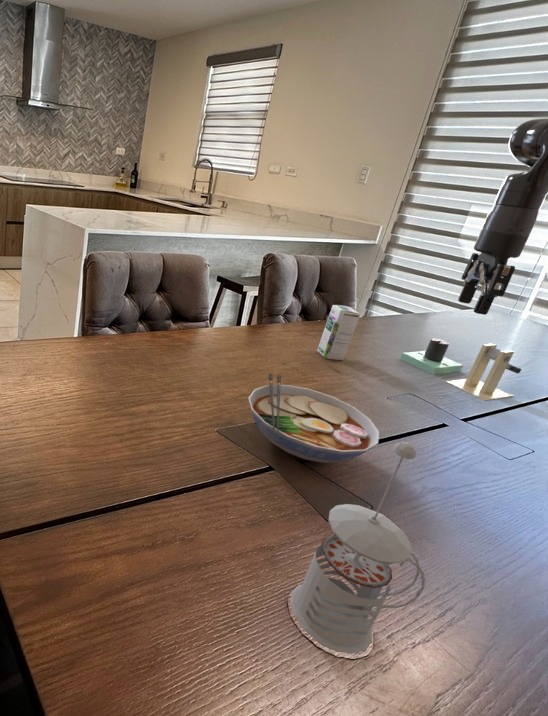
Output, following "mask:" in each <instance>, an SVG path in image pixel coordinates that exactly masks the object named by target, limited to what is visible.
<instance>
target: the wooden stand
mask: <svg viewBox="0 0 548 716" xmlns="http://www.w3.org/2000/svg"><path fill="white" fill-rule="evenodd" d="M497 346H498V345H497V344H494V343H487V344H485V343H484V344H482V346H481V347H480V350H479V351H478V354H477V356H476V358H475V360H474V362H473V363H472V366H471V369H470V371H469V373H468V375H467V377H466V378H461V379H453V380H445V381H444V382H445V383H446V384H449V385H450V386H453V387H455V388H457V389H459V390H461V391H462V392H463V391H464V392H465V393H467V394H470V395H472V396H474V397H476V398H478V399H480V400H481V401H485V402H486V401H493V400H497V399H498V400H499V399H503V398H511V397H513V396H514V395H513V394H510V393H508V392H506V391H503V390H501V389H499V388H497V387H498V385H499V383H500V381H501V379H502V377H503V375H504V373H505V371H506V370H507V369H506V367H507V365H508V363H509V364H510V361H511V360H512V357H513V355H514V353H515V351H513V350H510V349H508V350H501V351H500V352H499V354H498V356H497V358H496V360H494V362H493V364H492V366H491V368H490V370H489V372H488V373H487V376H486V378H485V380H484V382H483V381H481V380H482V377H483V375H484V373H485V371H486V369H487V367H488V365H489V363H490V361H491V359H490V358H489V357H488V356H487V355H486V354H487V353H488V351H489V350H490V349H491V347H493V348H496V349H497Z"/></svg>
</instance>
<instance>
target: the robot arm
mask: <svg viewBox="0 0 548 716" xmlns="http://www.w3.org/2000/svg"><path fill="white" fill-rule="evenodd" d="M508 149H509V152H510V154H511V156H512V157H513V158H514V159H515V160H516V161H518V162H519V163H521V164H523V165H525V166H527V167H529V169H528V170H526V171H522V172H516V173H511V174H509V175H507V176H506V177H505V179H504V180H503V182H502V184H501V186H500V189H499V191H498V193H497V196H496V198H495V200H494V203H493V204H492V207H491V208H490V209H489V212H488V213H487V215H486V218H485V220H484V222H483V225H482V227H481V229H480V231H479V234H478V236H477V239H476V241H475V243H474V245H473V250H474V251H475V252H472V254H471V256H470V258H469V260H468V262H467V265H466V267H465V268H464V271H463V272H462V273H463V274H462V275H461V280H462V281H463V286H462V290H461V292H460V294H459V296H458V299H457V301H458V302H459V303H462V304H471V303H472V301H473V299H474V296H475V294H476V292H477V289H478V287H479V285H480V286H481V293H480V295H479V297H478V299H477V302H476V303H475V306H474V308H473V313H475V314H477V315H478V314H479V315H488V313H489V311H490V309H491V307H492V304H493V302H494V300H495V298H498V297H500V298H501V297H503V296H504V295H505V293H506V290H507V289H508V286H509V284H510V281H511V279H512V277H513V275H514V271H515V270H516V266H515V265H509V264H508V262H509V259H516V258H519V257H520V256H521V254H522V253H523V250H524V248H525V247H526V244H527V242H528V239H529V238H530V235H531V233H532V231H533V228H534V227H535V225H536V222H537V219H538V216H539V212H540V209H541V207H542V206H543V203H544V201H545V199H546V197H547V195H548V118H535V119H529V120H527V121H525V122H522V123H521V124H520V125H517V127H516V128H515V129H514V130H513V131H512V133H511V134H510V137H509V140H508ZM477 252H478V253H477Z"/></svg>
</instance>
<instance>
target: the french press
mask: <svg viewBox="0 0 548 716" xmlns="http://www.w3.org/2000/svg"><path fill="white" fill-rule="evenodd" d="M392 450H393V451H392V452H394V454H395V455H396V456H398V457H400V458H399V461H398V463H397V465H396V466H395V469H394V472H393V474H392V476H391V478H390V481H389V483H388V486H387V487H386V490H385V492H384V494H383V497H382V498H381V501H380V502H379V505H378V508H377V509H376V511H375V510H372V509H370V508H368V507H365V506H361V505H359V504H349V503H344V504H338V505H337V504H336V505H335V506H333V508H331V509H330V510H329V514H328V523H329V525H330V528H331V530H332V532H333V534H330V535H327V536H326V537H325V538H324V539H322V541H321V542H322V543H321V544H320V545H319V546H317V548H316V550H315V552H314V554H313V556H312V559H311V562H310V565H309V567H308V569H307V572H306V575H305V577H304V579H303V582H302V583H301V584H302V585H300V584H297V585H298V586H297V587H296V588H295V589H294V590H292V589H291V590H292V592H291V599H290V605H291V608H292V610H293V613H294V615H295V618H297V620H298V622H299V624H300V625H301V626H302V628H303V629H304V631H306V632H307V633H308V634H309V635H311V637H313V639H314V640H315V641H317V642H318V643H320V644H321V645H322V646H324V647H327V648H329V649H330V650H331V649H332V650H334V651H336V652H344V653H345V652H346V653H349V654H350V653H351V654H353V653H354V654H355V653H359V652H361V651H364V652H365V651H366V650H367V648H368V647H369V645H370V644H371V643H372V630H373V626H374V624H375V622H376V620H377V618H378V616H379V614H380V613H381V611H382V609H398V608H403V607H407V606H408V605H410V604H412V603H414V602H415V601H416V600H418V598H419V597H420V596H421V594H422V592H423V590H424V589H425V587H426V577H425V573H424V571H423V570H422V569H421V567H420V563H419V561H420V560H419V559H418V557H416V555H415V554H414V552H412V545H411V541H410V540H409V538H408V537H407V536H406V534H405V532H404V531H403V530H402V529H401V528H400V527H399V526H397V525H396V523H394V522H393V521H391V520H390V519H389V518H388V517H387V516H385V515H384V514H383V513H381V512H380V510H381V508H382V506H383V504H384V502H385V500H386V497H387V495H388V493H389V491H390V488H391V486H392V484H393V482H394V480H395V477H396V475H397V473H398V471H399V468H400V466H401V464H402V462H403V460H404V459H405V460H414V459H415V457H417V456H416V455H417V451H416V448H415V446H414V445H413V444H411V443H409V442H408V441H401V442H397V443H396V444H394V445H393V449H392ZM410 555H411V557H412V558H413V559H414V560H412V558H409V557H410ZM321 556H324V557H323V558H320V559H317V558H319V557H321ZM406 561H407V562H410V563H411V564H412V565H414V567H416V574H415V575H414V578H413V579H412V581H411V582H410V583H409V584H408V585H407V586H406V587H404V588H403V589H402V590H399V591H395V592H390V591H391V586H390V585H391V584H390V582H391V581H392V580H393V571H392V568H391V566H390V565H393V564H398V566H400V567H403V565H404V564H405V562H406ZM324 562H325V564H321V563H324ZM326 562H327V563H326ZM320 564H321V565H320ZM328 568H332V569H329V570H324V569H328ZM327 575H334V576H338V577H341V578H342V579H344V580H345V581H346V582H348V583H349V584H350V585H351V586H352V587H353V588H351V587H350V586H349V585H348V584H346V583H345V582H344V581H342V580H341V579H338V578H334V577H332V576H327ZM419 576H420V578H421V585H420V587H419V589H418V590H417V592H416V594H415V595H414V596H413V597H412V598H409V600H408V601H406V602H403V603H398V604H385V601H386V599H387V598H388V596H389V597H390V596H397V595H400V594H403V593H405V592H406V591H408V590H410V589H411V588H412V587H413V586H415V584H416V582H417V580H418V578H419ZM384 587H386V589H385V591H384V592H382V590H383V588H384ZM353 589H354V590H355V591H356V592H357V593H355V592H354V591H353ZM379 597H380V598H379ZM384 604H385V605H384ZM373 608H376V609H375V610H372V609H373ZM369 616H372V617H371V618H369ZM371 628H372V629H371Z"/></svg>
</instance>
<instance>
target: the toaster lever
mask: <svg viewBox="0 0 548 716" xmlns="http://www.w3.org/2000/svg"><path fill="white" fill-rule="evenodd" d="M500 351H502V350H501V349H499V348H497V347H496V348H493V347H491V349H490V350H489V351H488V353H487V354H486V355H487V356H488V357H489V358H490V360H492V361H495V360H496V358H497V356H498V354H499V352H500ZM505 370H507V371H510V372H512V373H515V374H518V375H519V374H520V373H521V371H522V369H521V368H520V367H517V366H514V365H513V364H510V362H509V363H508V365H507V367H506V369H505Z"/></svg>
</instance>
